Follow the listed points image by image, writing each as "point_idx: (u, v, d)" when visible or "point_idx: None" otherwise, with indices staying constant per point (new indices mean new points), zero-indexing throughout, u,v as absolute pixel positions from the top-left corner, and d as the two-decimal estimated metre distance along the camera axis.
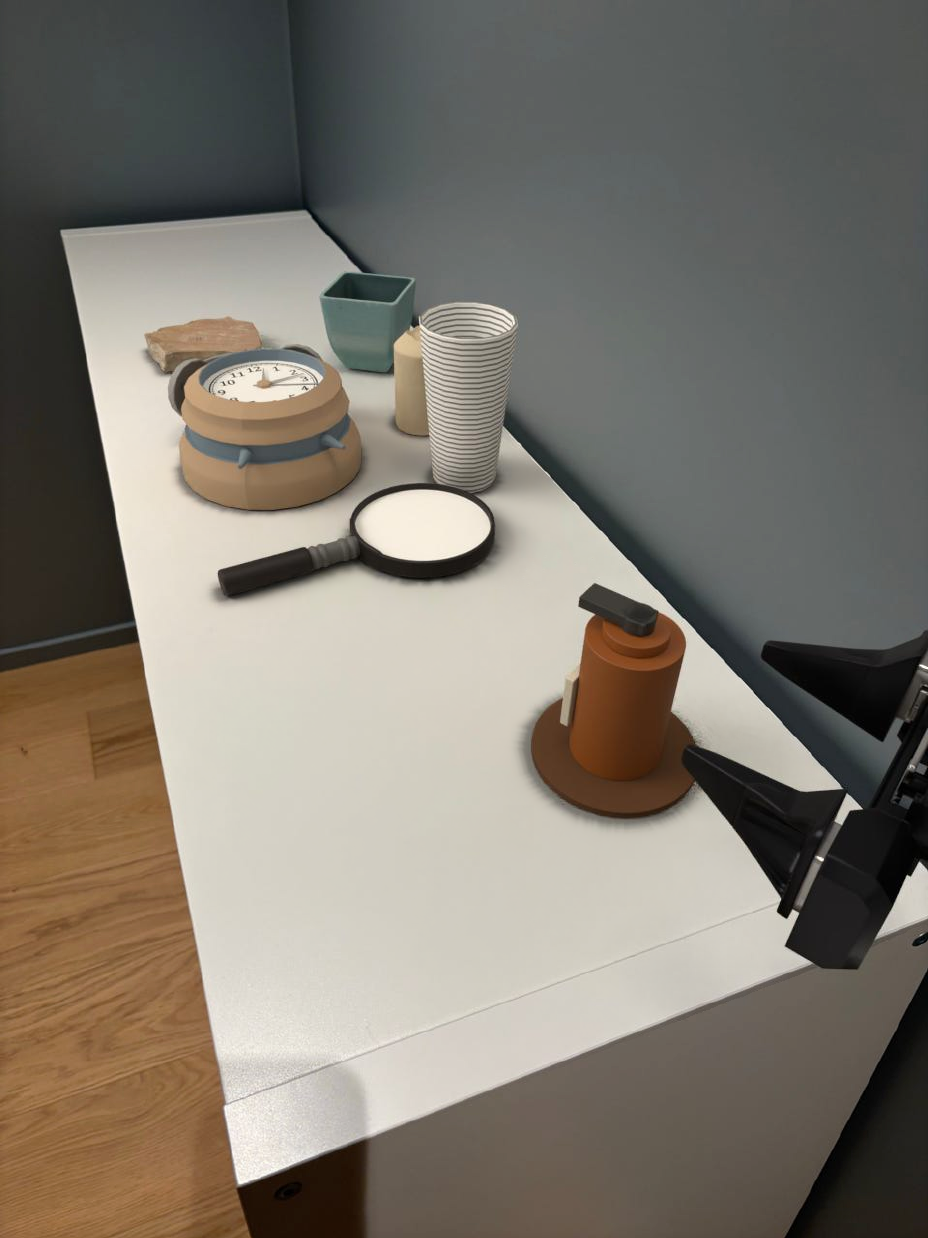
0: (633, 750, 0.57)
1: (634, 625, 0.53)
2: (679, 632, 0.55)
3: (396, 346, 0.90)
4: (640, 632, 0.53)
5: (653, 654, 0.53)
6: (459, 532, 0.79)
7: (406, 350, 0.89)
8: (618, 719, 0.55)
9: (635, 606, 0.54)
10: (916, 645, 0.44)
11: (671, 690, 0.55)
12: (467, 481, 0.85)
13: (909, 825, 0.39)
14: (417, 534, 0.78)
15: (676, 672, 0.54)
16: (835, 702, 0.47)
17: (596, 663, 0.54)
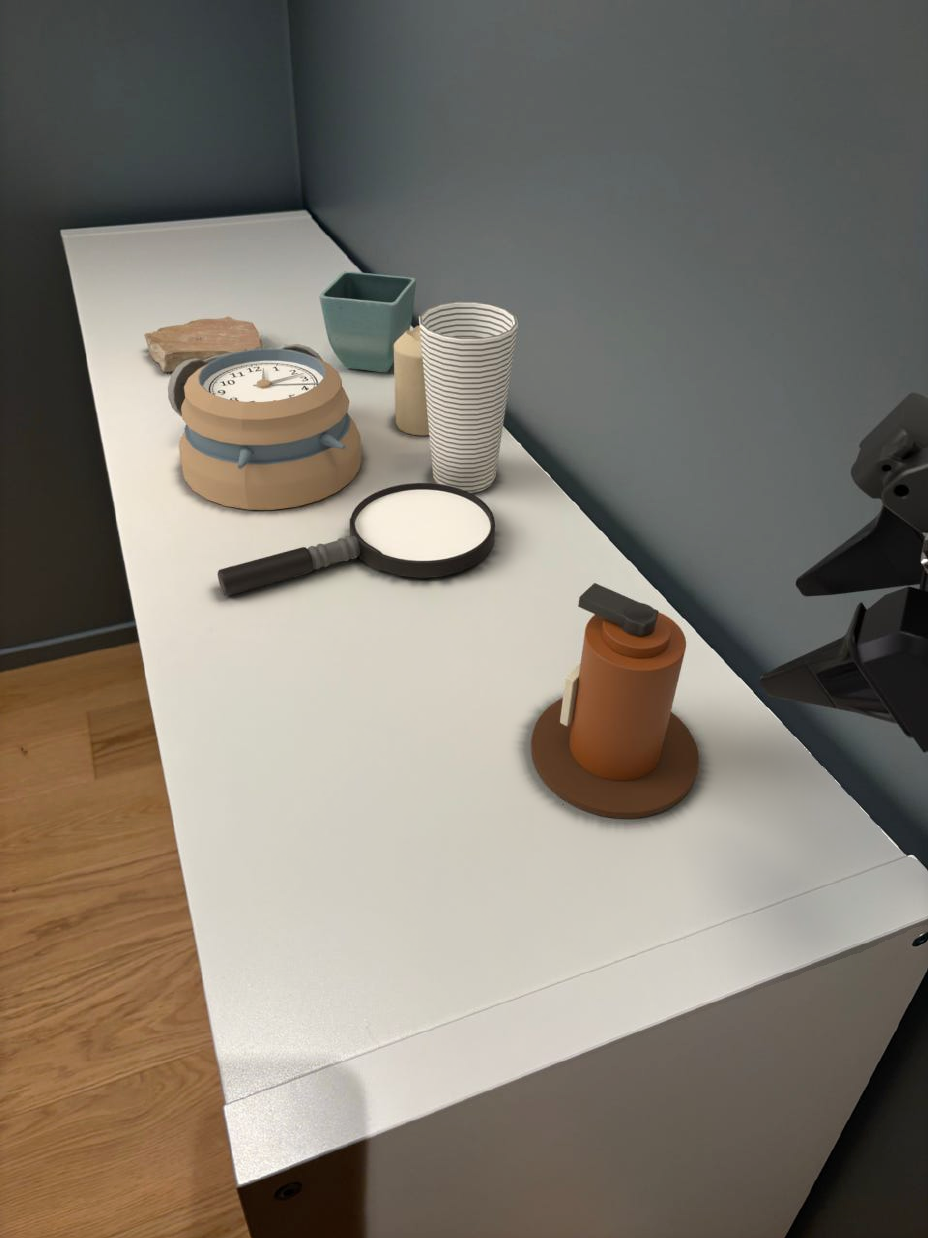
0: (633, 750, 0.57)
1: (634, 625, 0.53)
2: (679, 632, 0.55)
3: (396, 346, 0.90)
4: (640, 632, 0.53)
5: (653, 654, 0.53)
6: (459, 532, 0.79)
7: (406, 350, 0.89)
8: (618, 719, 0.55)
9: (635, 606, 0.54)
10: None
11: (671, 690, 0.55)
12: (467, 481, 0.85)
13: None
14: (417, 534, 0.78)
15: (676, 672, 0.54)
16: (882, 580, 0.51)
17: (596, 663, 0.54)
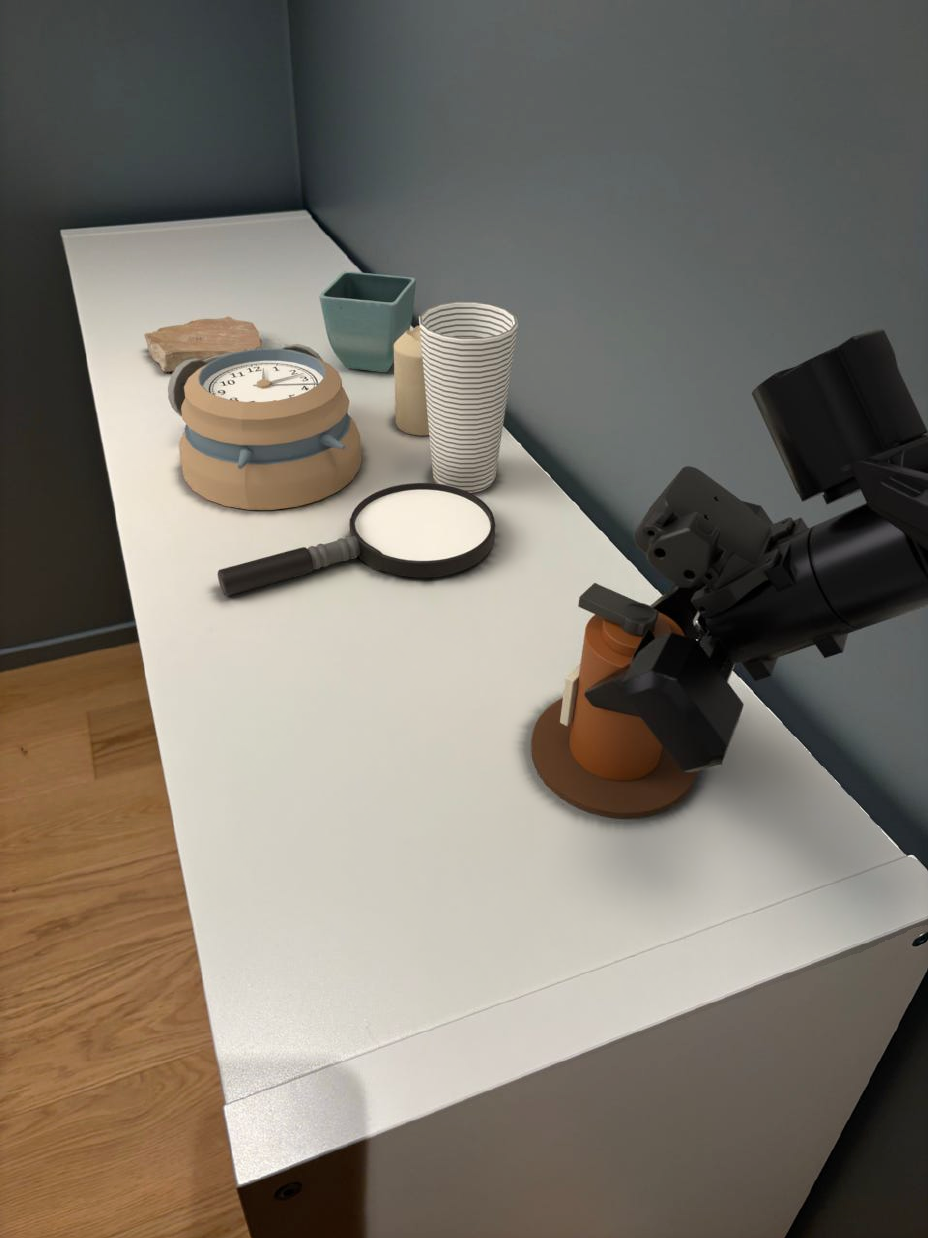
0: (633, 750, 0.57)
1: (634, 625, 0.53)
2: (679, 632, 0.55)
3: (396, 346, 0.90)
4: (640, 632, 0.53)
5: None
6: (459, 532, 0.79)
7: (406, 350, 0.89)
8: (618, 719, 0.55)
9: (635, 606, 0.54)
10: None
11: None
12: (467, 481, 0.85)
13: (718, 639, 0.49)
14: (417, 534, 0.78)
15: None
16: (690, 633, 0.57)
17: (596, 663, 0.54)
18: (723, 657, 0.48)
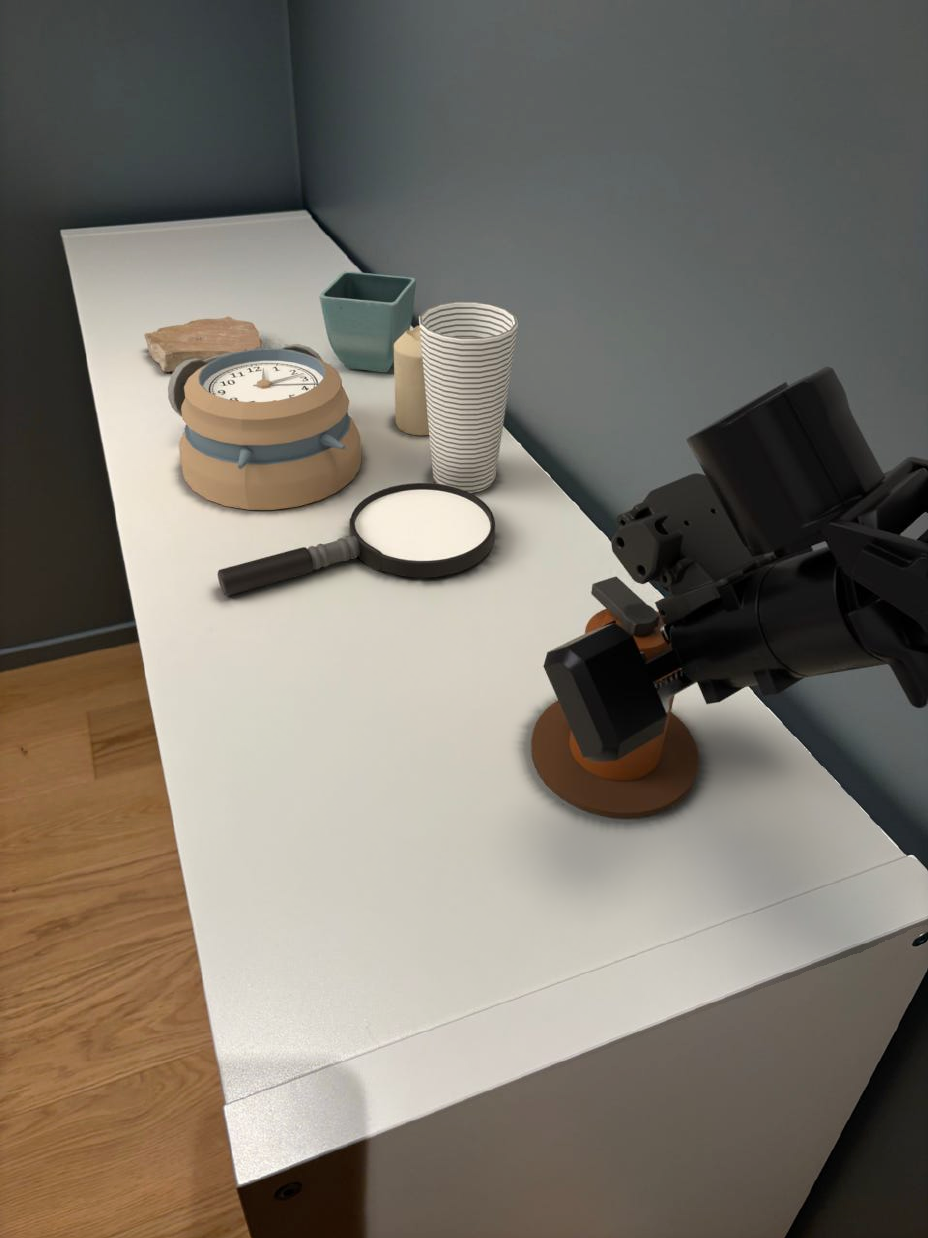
0: None
1: (628, 622, 0.53)
2: None
3: (396, 346, 0.90)
4: (632, 631, 0.53)
5: None
6: (459, 532, 0.79)
7: (406, 350, 0.89)
8: None
9: (639, 606, 0.54)
10: None
11: None
12: (467, 481, 0.85)
13: (674, 649, 0.48)
14: (417, 534, 0.78)
15: None
16: None
17: None
18: (672, 667, 0.48)
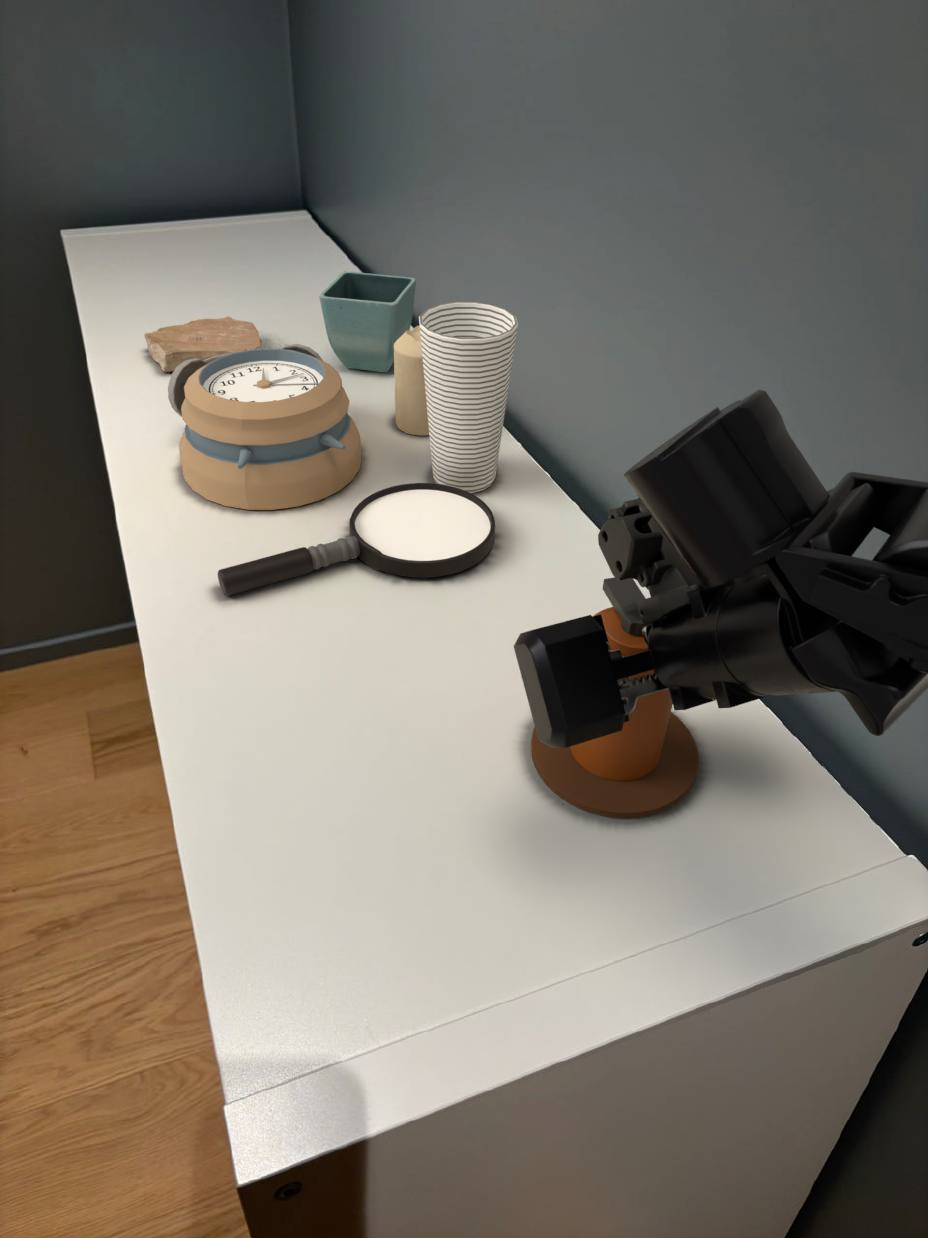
0: (601, 745, 0.57)
1: (625, 620, 0.54)
2: None
3: (396, 346, 0.90)
4: (628, 629, 0.53)
5: None
6: (459, 532, 0.79)
7: (406, 350, 0.89)
8: None
9: None
10: None
11: (645, 701, 0.54)
12: (467, 481, 0.85)
13: (648, 650, 0.48)
14: (417, 534, 0.78)
15: None
16: None
17: None
18: (643, 668, 0.48)
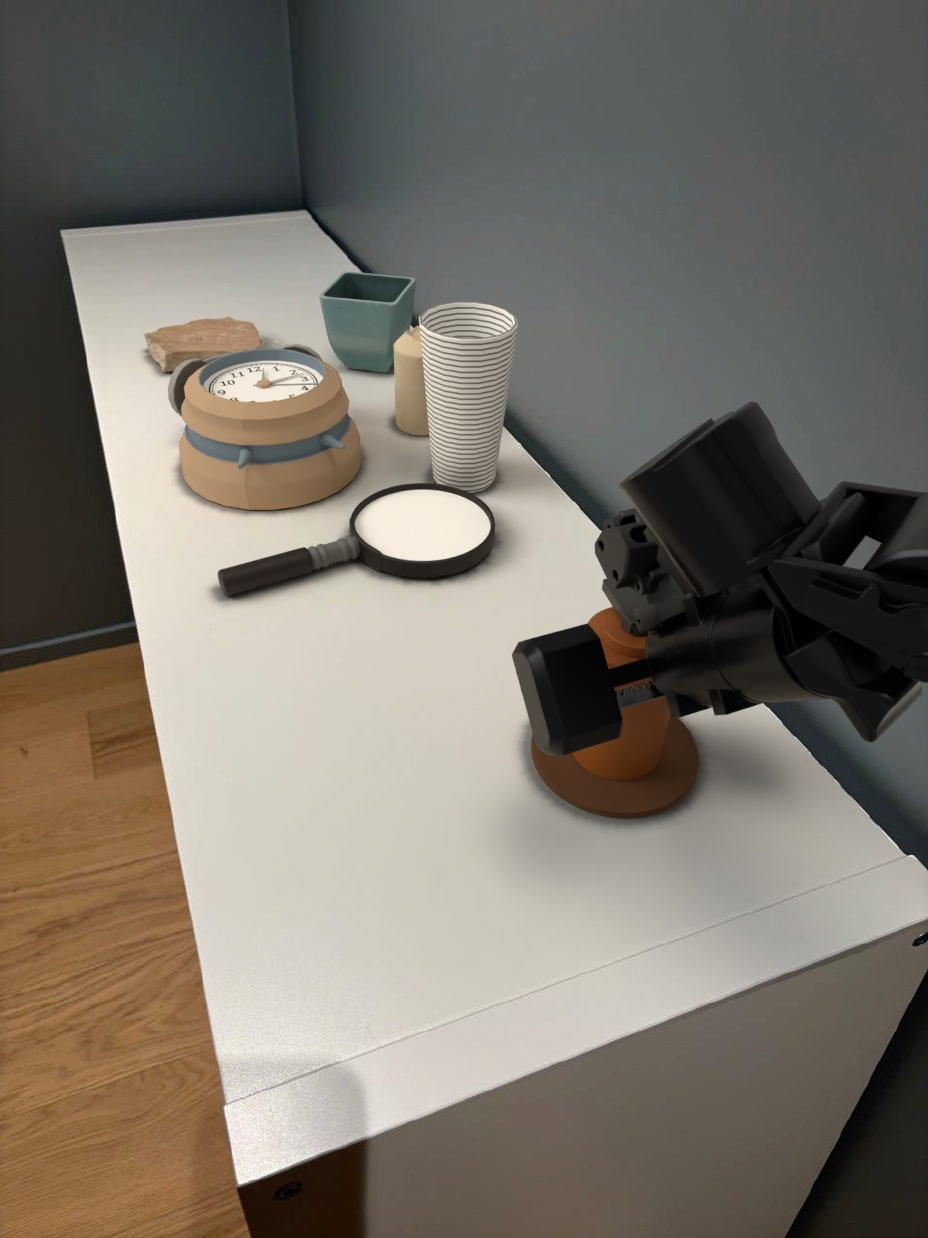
0: (601, 745, 0.57)
1: (625, 620, 0.54)
2: None
3: (396, 346, 0.90)
4: (628, 629, 0.53)
5: (631, 655, 0.53)
6: (459, 532, 0.79)
7: (406, 350, 0.89)
8: None
9: (642, 606, 0.54)
10: None
11: None
12: (467, 481, 0.85)
13: (645, 658, 0.48)
14: (417, 534, 0.78)
15: None
16: None
17: None
18: (640, 675, 0.48)
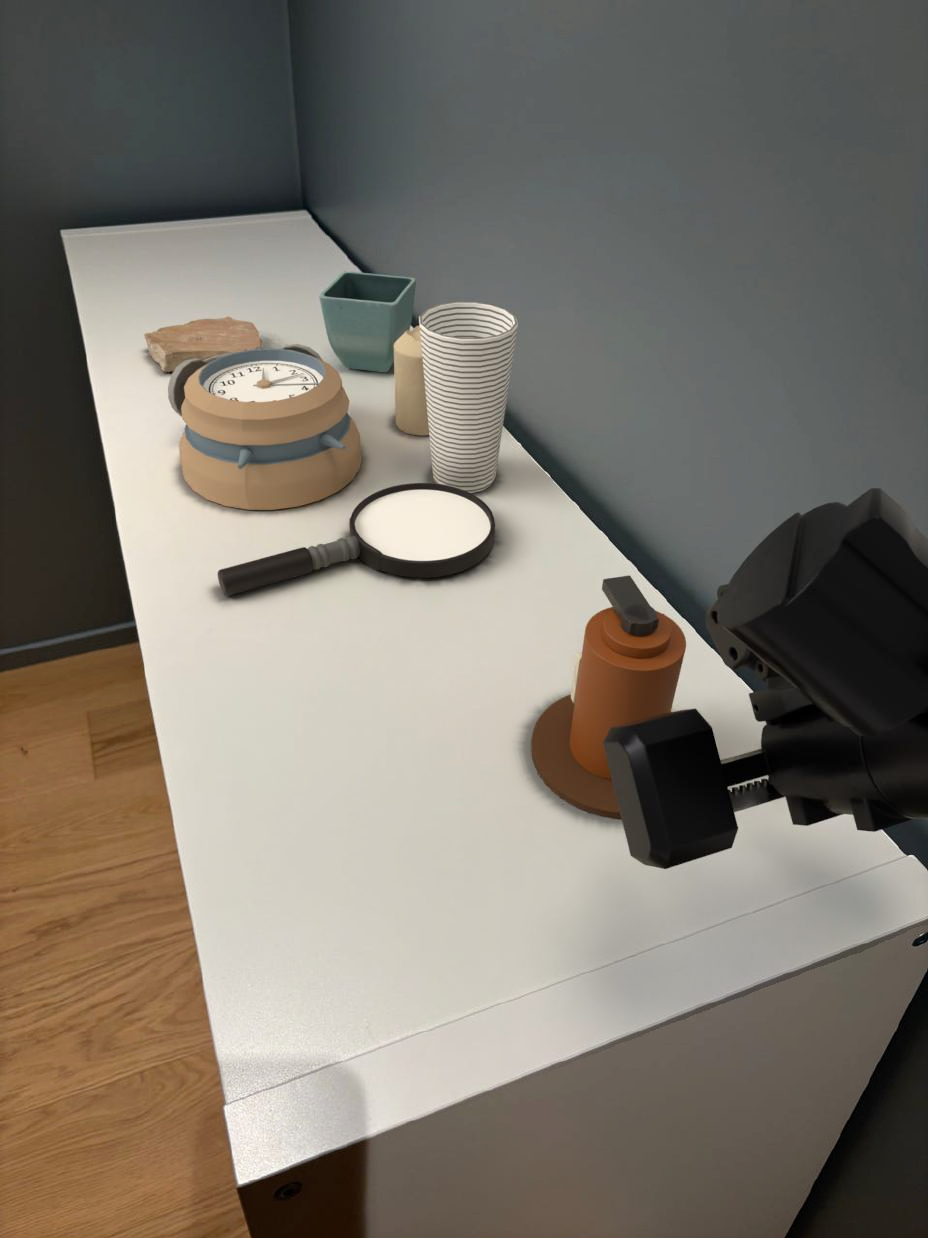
0: (601, 745, 0.57)
1: (625, 620, 0.54)
2: (679, 652, 0.54)
3: (396, 346, 0.90)
4: (628, 629, 0.53)
5: (631, 655, 0.53)
6: (459, 532, 0.79)
7: (406, 350, 0.89)
8: (590, 706, 0.56)
9: (642, 606, 0.54)
10: None
11: (645, 701, 0.54)
12: (467, 481, 0.85)
13: (763, 752, 0.41)
14: (417, 534, 0.78)
15: (650, 683, 0.53)
16: None
17: (583, 642, 0.55)
18: (756, 773, 0.40)
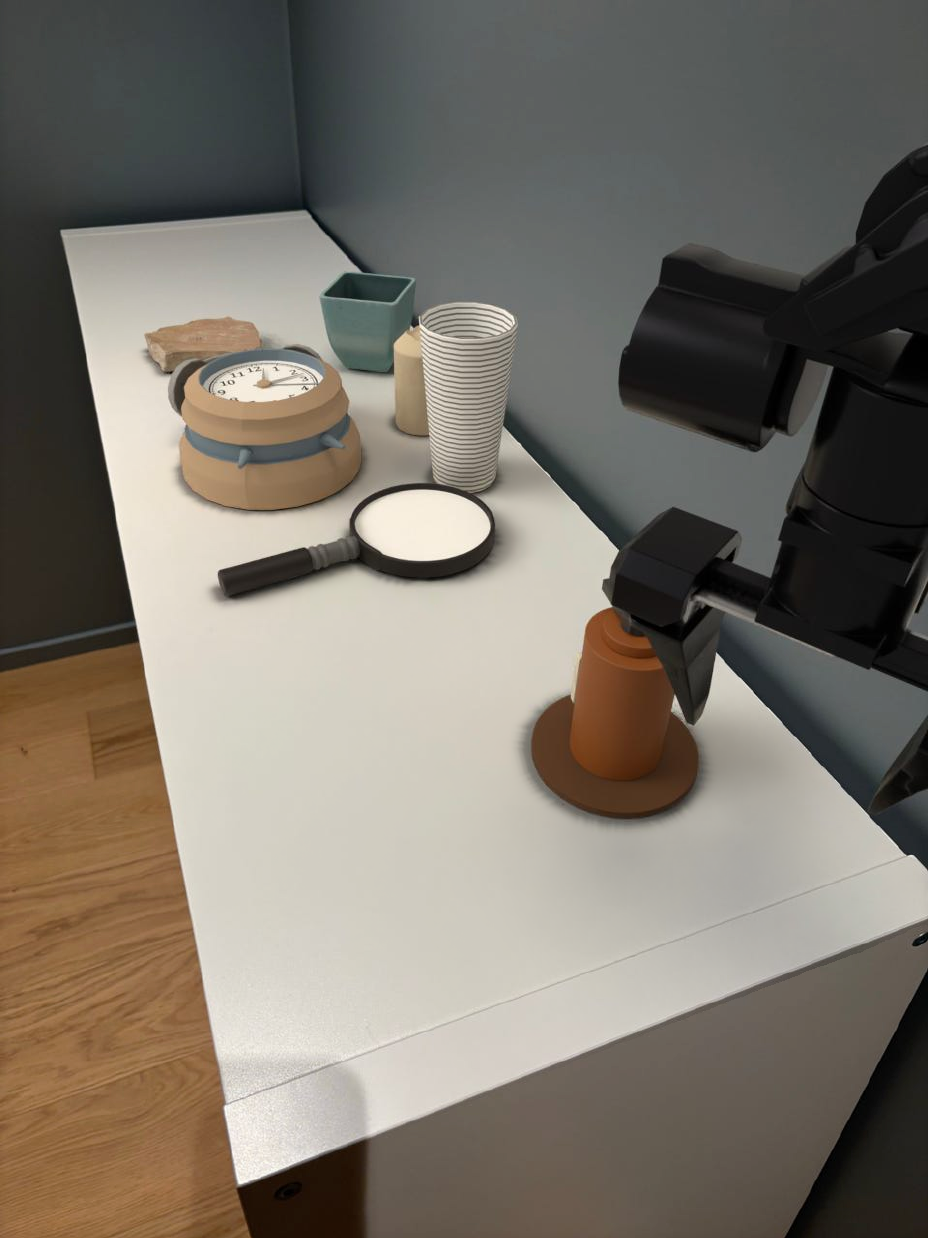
0: (601, 745, 0.57)
1: (625, 620, 0.54)
2: None
3: (396, 346, 0.90)
4: (628, 629, 0.53)
5: (631, 655, 0.53)
6: (459, 532, 0.79)
7: (406, 350, 0.89)
8: (590, 706, 0.56)
9: None
10: None
11: (645, 701, 0.54)
12: (467, 481, 0.85)
13: None
14: (417, 534, 0.78)
15: (650, 683, 0.53)
16: (897, 768, 0.39)
17: (583, 642, 0.55)
18: (753, 582, 0.40)
